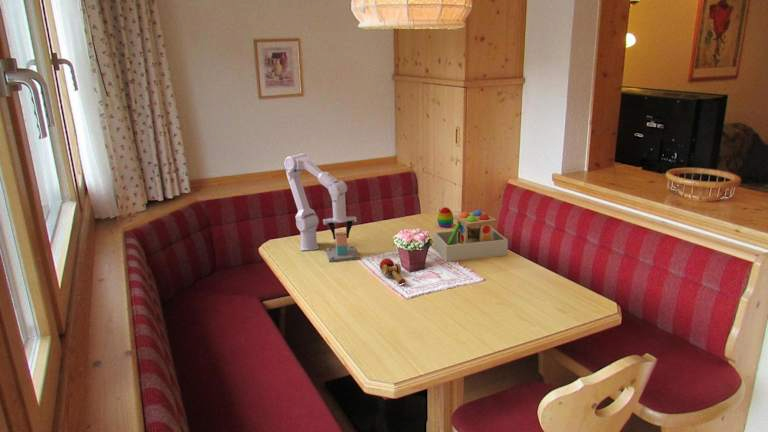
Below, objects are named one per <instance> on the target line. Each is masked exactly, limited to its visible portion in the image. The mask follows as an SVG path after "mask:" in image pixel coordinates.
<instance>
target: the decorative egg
mask: <svg viewBox="0 0 768 432" xmlns="http://www.w3.org/2000/svg"><path fill="white" fill-rule="evenodd" d="M454 220H455V219H454V214H453V212H452V211H451V209H450V208H449V207H442V208H441V209H440V210H439V212H438V213H437V224H438V225H439V227H440V228H444V229H448V228H451V226H453V223H454Z"/></svg>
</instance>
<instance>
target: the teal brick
mask: <svg viewBox="0 0 768 432" xmlns="http://www.w3.org/2000/svg"><path fill="white" fill-rule="evenodd" d="M347 247H348V244H347V245H344V246H337V244H336V243H335V248H336V252H337V255H348V254H347Z"/></svg>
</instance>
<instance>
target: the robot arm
mask: <svg viewBox="0 0 768 432" xmlns="http://www.w3.org/2000/svg"><path fill="white" fill-rule="evenodd" d="M283 164H284V167H285V172H286V177H287V181H288V183H289V187H290V189H291V193H292V196H293V199H294V203H295V205H296V208H297V213H296V214H295V225H296V228H297V229H298V230H299V232H300V250H301V252H304V251H313V250H315V251H316V250H319V249H320V248H319V245H318V239H317V228H318V226H319V222H320V219H319V216H318V215H317V214H316V212H315V210H314V209H312V208H310V204H309V202H308V198H307V195H306V192H305V188H304V186H303V182H302V179H301V173H302V171H303V170H305V171H307V172H309V173H310V174H311V175H312V176H315V177H316V178H317V181H318V183H320V184H321V185H322V186H324V187H325V189H327V190H328V193H329V195H330V198H331V201H332V203H331V204H332V217H329V218H324V219H322V222H323V223H322V224H323V225H324V226H325V225H328V228H329V230H330V231H331V234H332V237H333V240H335V241H336V239H335V232H336V231H335V228H336V227H335V224H340V223H345V233H346V235H347V239H349V236H350V232H351V228H352V226H353V222H354V223H357V217H356V216H347V209H346V207H347V206H346V204H347V203H346V193H347V192H348V185H347V183H346V182H345V180H339V179H337V178H335V177H334V176H333V175H332V174H331V173H330V172H329V171H322V169H320V167H318V165H316V164H315V163H314V162H313V161H312V160H311V158H310V156H308V155H307V154H306V153H304V152H301V153H299V154H293V155H290V156H289V155H288V156H286V158H285V159H284V161H283Z"/></svg>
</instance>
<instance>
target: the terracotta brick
mask: <svg viewBox="0 0 768 432" xmlns="http://www.w3.org/2000/svg"><path fill="white" fill-rule="evenodd" d="M336 244H337V246H344V245H347V246H348V238H347V235H346V230H345V231H344V230H343V231H335V245H336Z"/></svg>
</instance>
